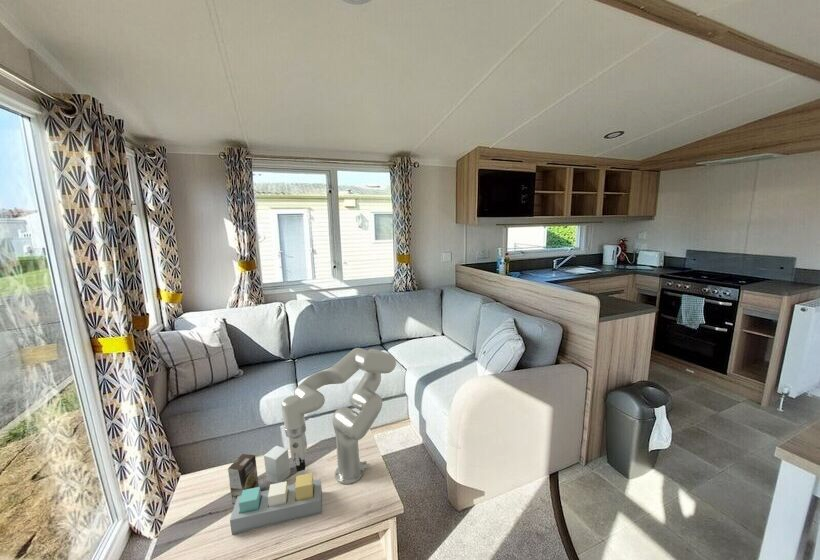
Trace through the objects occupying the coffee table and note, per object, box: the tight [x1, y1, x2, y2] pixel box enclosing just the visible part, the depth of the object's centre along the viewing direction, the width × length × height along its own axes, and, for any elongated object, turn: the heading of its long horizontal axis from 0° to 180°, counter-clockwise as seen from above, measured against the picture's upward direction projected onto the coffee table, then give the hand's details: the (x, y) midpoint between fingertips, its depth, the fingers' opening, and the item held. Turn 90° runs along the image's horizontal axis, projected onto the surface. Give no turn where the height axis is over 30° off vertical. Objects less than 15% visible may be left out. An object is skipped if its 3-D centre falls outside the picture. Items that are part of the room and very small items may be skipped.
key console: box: [229, 478, 323, 535], centre depth 128 cm, size 32×11×6 cm, turn 104°
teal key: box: [239, 486, 261, 514], centre depth 125 cm, size 6×6×7 cm
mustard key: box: [295, 472, 314, 501], centre depth 130 cm, size 6×6×7 cm
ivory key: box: [268, 481, 288, 507], centre depth 128 cm, size 6×6×7 cm
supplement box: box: [263, 445, 291, 484], centre depth 146 cm, size 7×7×13 cm
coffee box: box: [227, 453, 260, 504], centre depth 136 cm, size 9×6×16 cm
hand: (301, 469), depth 129 cm, fingers closed
